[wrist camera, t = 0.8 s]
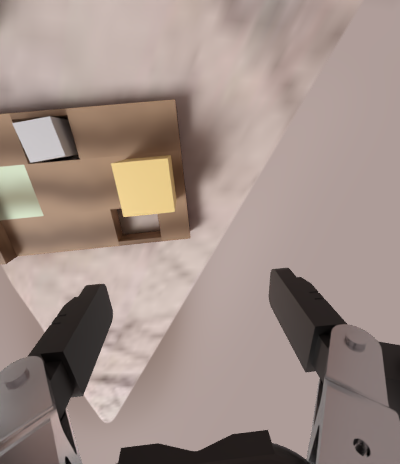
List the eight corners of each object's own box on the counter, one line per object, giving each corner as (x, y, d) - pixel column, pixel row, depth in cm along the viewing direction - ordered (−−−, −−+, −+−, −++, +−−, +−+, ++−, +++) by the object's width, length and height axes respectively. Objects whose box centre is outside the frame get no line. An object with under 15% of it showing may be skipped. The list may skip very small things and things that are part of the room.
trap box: (-34, 120, 25) (-77, 116, 21) (175, 103, 26) (174, 95, 22) (23, 248, 32) (-1, 264, 28) (189, 231, 33) (190, 244, 29)
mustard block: (125, 159, 26) (110, 163, 21) (170, 155, 26) (167, 158, 21) (134, 203, 28) (123, 217, 23) (176, 199, 28) (174, 211, 23)
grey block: (36, 125, 26) (12, 123, 23) (68, 119, 26) (49, 116, 23) (50, 159, 28) (30, 162, 24) (81, 154, 28) (65, 156, 24)
